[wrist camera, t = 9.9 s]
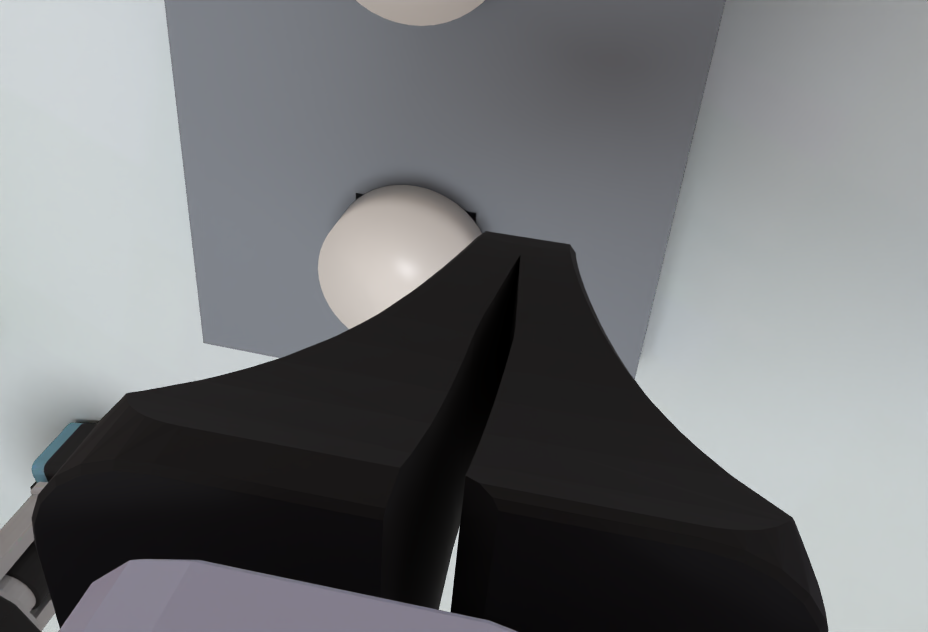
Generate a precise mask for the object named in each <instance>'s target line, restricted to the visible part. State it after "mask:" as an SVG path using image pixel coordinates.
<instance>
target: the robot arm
mask: <svg viewBox="0 0 928 632" xmlns="http://www.w3.org/2000/svg"><path fill="white" fill-rule="evenodd" d="M31 518H32V526H33V534H34V542H35V546H36V550H37V553H38V556H39V560H40V563H41V566H42V570H43V573H44V576H45V580H46V583H47V586H48V590H49V593H50V596H51V600H52V603H53V607H54V610H55V613H56V617H57V620H58V623H59V627H60V630H59V631H58V632H828V624H827V618H826V612H825V607H824V603H823V600H822V596H821V592H820V588H819V585H818V582H817V579H816V577H815V574H814V571H813V568H812V566H811V563H810V560H809V557H808V555H807V552H806V550H805V547H804V544H803V542H802V539H801V536H800V534H799V531H798V529H797V526H796V524H795V521H794V520H793V518H792V517H791V516H789V515H788V514H786V513H785V512H784V511H782V510H781V509H779V508H778V507H776V506H775V505H773V504H772V503H770V502H769V501H767V500H766V499H765V498H763V497H762V496H760V495H759V494H757V493H756V492H754V491H753V490H751V489H750V488H748V487H747V486H746V485H744V484H743V483H741V482H740V481H738V480H737V479H735V478H734V477H733V476H731V475H730V474H729V473H727V472H726V471H725V470H724V469H723V468H721V467H720V466H719V465H718V464H717V463H715V462H714V461H713V460H712V459H710V458H709V457H708V456H707V455H706V454H704V453H703V452H702V451H701V450H700V449H698V448H697V447H696V446H695V445H694V444H693V443H692V442H691V441H690V440H689V439H688V438H686V437H685V436H684V435H683V434H682V433H681V432H680V431H679V430H678V429H677V428H676V427H675V426H674V425H673V424H672V423H671V422H670V421H669V420H668V419H667V418H666V417H665V415H664V414H663V413H662V412H661V411H660V410H659V409H658V408H657V407H656V406H655V405H654V404H653V403H652V402H651V400H650V399H649V398H648V397H647V396H646V395H645V393H644V392H643V390H642V389H641V388H640V386H639V385H638V384H637V382H636V381H635V380H634V378H633V377H632V376H631V374H630V373H629V371H628V370H627V368H626V367H625V365H624V364H623V362H622V361H621V359H620V357H619V356H618V354H617V352H616V351H615V349H614V347H613V346H612V344H611V342H610V340H609V339H608V337H607V335H606V333H605V331H604V329H603V327H602V326H601V324H600V321H599V319H598V317H597V315H596V313H595V311H594V308H593V306H592V304H591V302H590V300H589V297H588V295H587V292H586V290H585V287H584V284H583V281H582V278H581V275H580V272H579V268H578V264H577V259H576V252H575V251H574V249H573V248H572V247H571V245H570V244H565V243H559V242H553V241H546V240H540V239H534V238H527V237H521V236H514V235H508V234H502V233H495V232H489V231H485V232H484V233H482V234H481V235H479V236H478V237H477V238H476V239H475V240H473V241H472V242H471V243H470V244H469V245H468V246H467V247H466V248H465V249H464V250H462V251H461V252H460V253H459V254H458V255H457V256H456V257H454V258H453V259H452V260H451V261H450V262H449V263H447V264H446V265H445V266H444V267H443V268H441V269H440V270H439V271H438V272H436V273H435V274H434V275H433V276H431V277H430V278H429V279H427V280H426V281H425V282H424V283H422V284H421V285H420V286H418V287H417V288H416V289H414V290H413V291H412V292H410V293H409V294H407V295H406V296H404V297H403V298H401V299H400V300H398V301H397V302H395V303H394V304H392V305H391V306H390V307H388V308H387V309H385V310H384V311H382V312H380V313H379V314H377V315H375V316H374V317H372V318H370V319H368V320H366V321H365V322H363V323H361V324H359V325H357V326H355V327H353V328H351V329H349V330H347V331H345V332H343V333H341V334H339V335H337V336H334V337H332V338H330V339H328V340H325V341H323V342H320V343H317V344H315V345H312V346H310V347H307V348H305V349H302V350H300V351H297V352H295V353H292V354H290V355H287V356H285V357H282V358H279V359H276V360H273V361H270V362H267V363H263V364H260V365H257V366H254V367H251V368H247V369H243V370H239V371H236V372H232V373H228V374H225V375H221V376H217V377H212V378H208V379H204V380H199V381H194V382H188V383H183V384H177V385H172V386H167V387H161V388H156V389H150V390H145V391H138V392H132V393H127V394H126V395H125V396H124V397H123V398H122V399H121V400H120V401H119V402H118V403H117V404H116V405H115V406H114V407H113V408H112V409H111V410H110V411H109V412H108V413H107V414H106V415H105V416H104V417H103V418H102V419H101V420H100V421H99V422H98V423H97V425H96V426H95V427H94V428H93V429H92V431H91V432H90V433H89V434H88V435H87V437H86V438H85V439H84V440H83V442H82V443H81V444H80V445H79V446H78V447H77V449H76V450H75V451H74V452H73V453H72V455H71V456H70V457H69V458H68V459H67V461H66V462H65V463H64V464H63V465H62V467H61V468H60V469H59V470H58V471H57V473H56V474H55V475H54V476H53V477H52V479H51V480H50V481H49V482H48V483H47V485H46V486H45V487H44V488H43V489H42V491H41V492H40V493H39V494H38V496H37V500H36V503H35V507H34V510H33V514H32V517H31ZM459 526H460V530H459V539H458V549H457V558H456V567H455V576H454V586H453V595H452V604H451V612H446V611H441V610H439V606H440V601H441V597H442V593H443V588H444V584H445V580H446V575H447V571H448V567H449V563H450V558H451V554H452V550H453V546H454V543H455V540H456V536H457V533H458V529H459Z"/></svg>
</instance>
